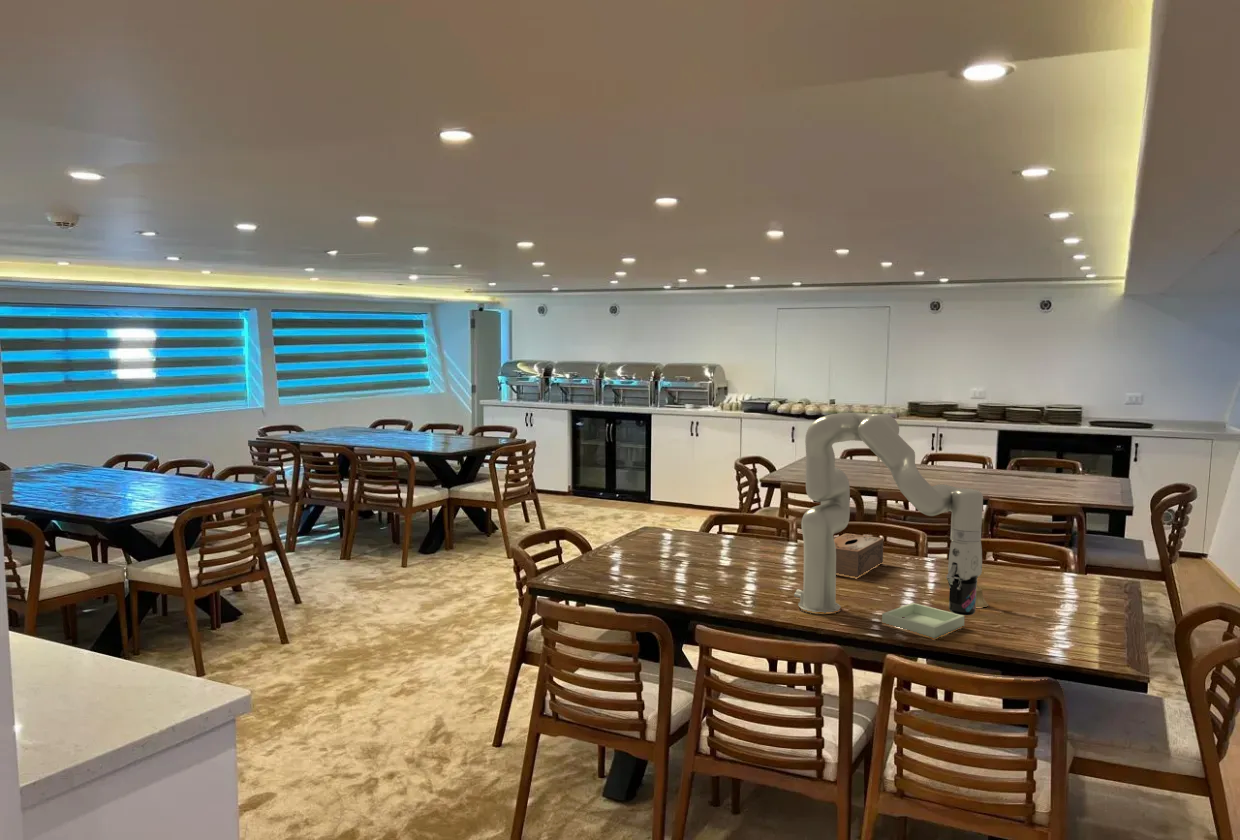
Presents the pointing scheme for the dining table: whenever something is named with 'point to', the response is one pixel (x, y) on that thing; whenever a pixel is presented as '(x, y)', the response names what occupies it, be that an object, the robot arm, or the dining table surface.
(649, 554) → the dining table surface
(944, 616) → the tray
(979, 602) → the hand bell
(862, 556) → the tissue box cover
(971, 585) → the supplement container
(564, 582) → the dining table surface
